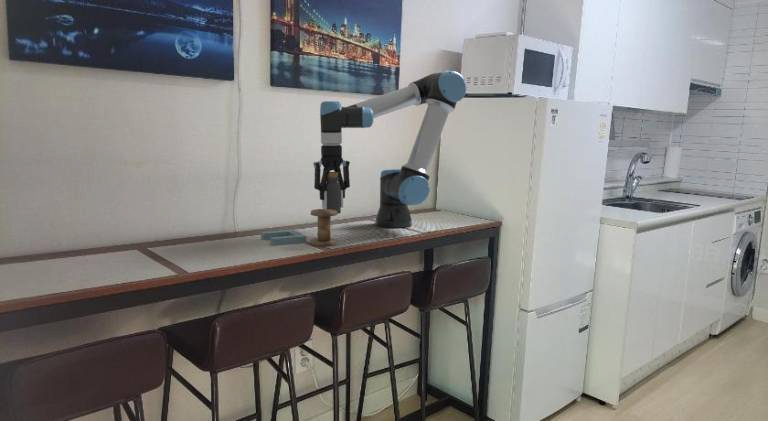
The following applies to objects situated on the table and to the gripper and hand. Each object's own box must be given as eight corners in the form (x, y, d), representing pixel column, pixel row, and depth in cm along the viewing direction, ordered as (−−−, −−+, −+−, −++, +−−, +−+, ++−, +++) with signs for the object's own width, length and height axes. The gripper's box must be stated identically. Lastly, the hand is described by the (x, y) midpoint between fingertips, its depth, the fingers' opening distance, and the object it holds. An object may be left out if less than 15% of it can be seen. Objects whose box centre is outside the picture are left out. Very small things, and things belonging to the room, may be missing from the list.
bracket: (293, 236, 199) (293, 229, 199) (306, 242, 188) (306, 236, 188) (261, 238, 193) (261, 232, 193) (273, 246, 182) (272, 238, 182)
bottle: (321, 213, 200) (320, 172, 197) (330, 211, 205) (329, 171, 202) (335, 214, 197) (334, 173, 194) (343, 212, 202) (343, 172, 200)
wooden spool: (330, 240, 194) (330, 208, 192) (341, 245, 186) (341, 212, 184) (306, 242, 189) (306, 209, 187) (316, 247, 181) (317, 213, 180)
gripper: (350, 143, 204) (351, 204, 208) (303, 145, 195) (304, 208, 199) (359, 144, 198) (360, 207, 202) (311, 145, 189) (312, 211, 193)
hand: (332, 207), depth 200 cm, fingers closed on bottle, 6 cm apart
